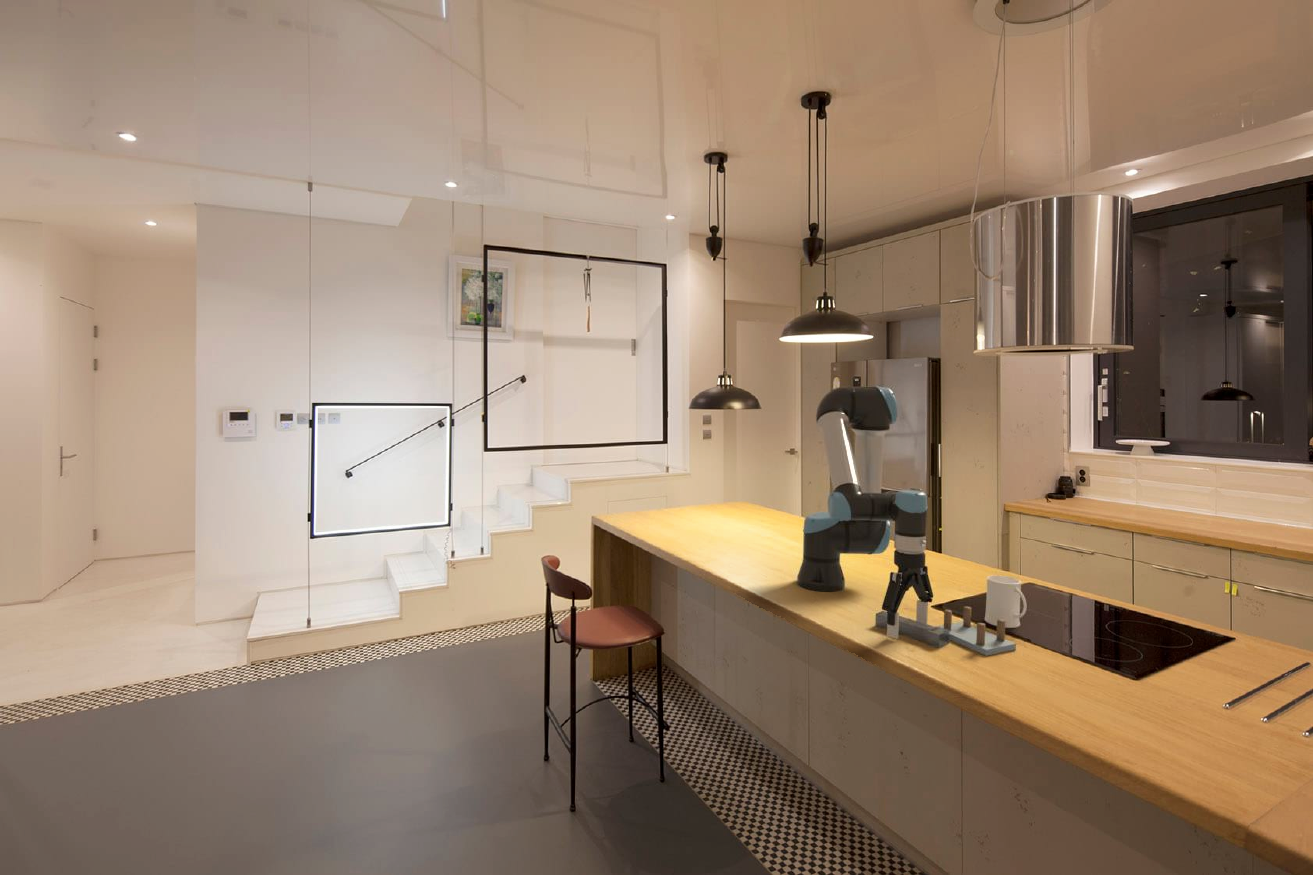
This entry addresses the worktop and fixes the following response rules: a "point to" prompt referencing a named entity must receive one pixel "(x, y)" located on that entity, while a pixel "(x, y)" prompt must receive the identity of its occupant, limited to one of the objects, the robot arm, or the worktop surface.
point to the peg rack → (977, 634)
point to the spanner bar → (917, 630)
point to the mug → (1004, 600)
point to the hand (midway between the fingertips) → (907, 631)
